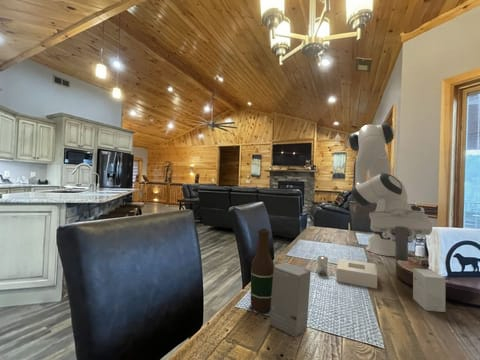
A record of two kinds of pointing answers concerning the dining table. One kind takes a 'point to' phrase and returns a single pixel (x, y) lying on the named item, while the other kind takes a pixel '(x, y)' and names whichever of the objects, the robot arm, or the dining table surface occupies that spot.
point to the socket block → (357, 273)
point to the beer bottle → (262, 275)
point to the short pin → (322, 265)
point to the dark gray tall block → (401, 243)
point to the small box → (429, 289)
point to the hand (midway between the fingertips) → (401, 241)
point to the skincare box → (290, 298)
